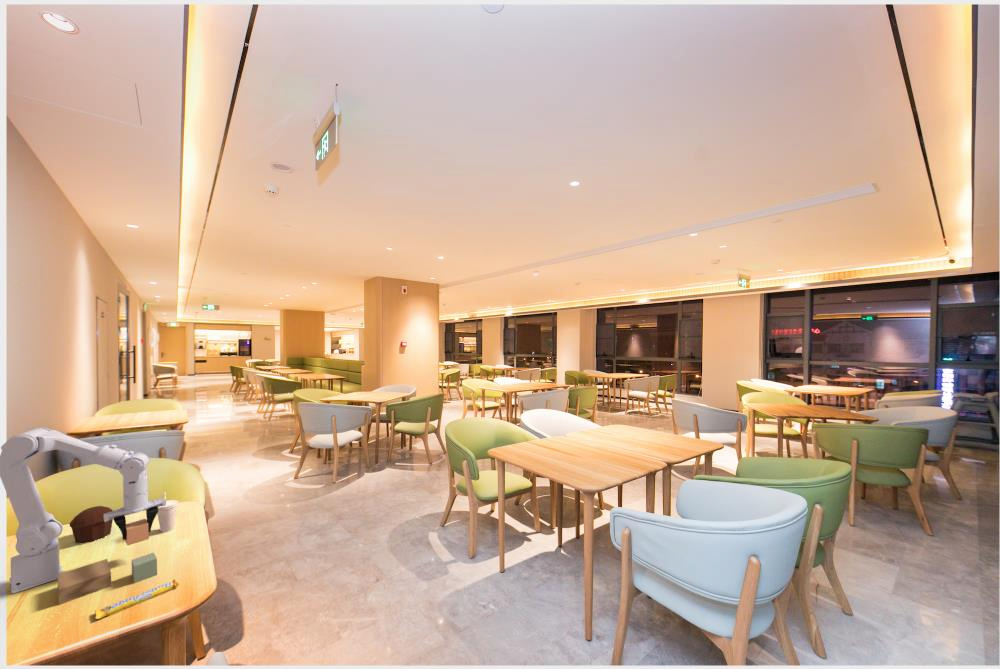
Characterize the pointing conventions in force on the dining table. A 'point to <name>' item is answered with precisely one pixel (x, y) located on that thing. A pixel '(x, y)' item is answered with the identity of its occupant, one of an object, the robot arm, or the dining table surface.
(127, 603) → the candy bar
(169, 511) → the smoothie
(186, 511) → the dining table surface
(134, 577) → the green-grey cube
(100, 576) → the walnut block
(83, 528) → the muffin
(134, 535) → the terracotta cube
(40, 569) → the robot arm
